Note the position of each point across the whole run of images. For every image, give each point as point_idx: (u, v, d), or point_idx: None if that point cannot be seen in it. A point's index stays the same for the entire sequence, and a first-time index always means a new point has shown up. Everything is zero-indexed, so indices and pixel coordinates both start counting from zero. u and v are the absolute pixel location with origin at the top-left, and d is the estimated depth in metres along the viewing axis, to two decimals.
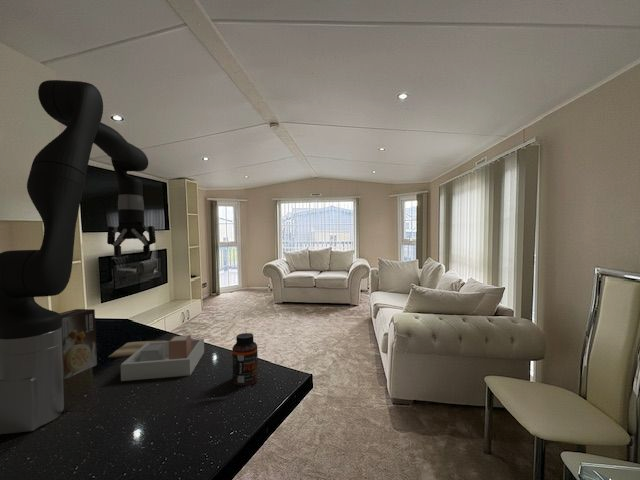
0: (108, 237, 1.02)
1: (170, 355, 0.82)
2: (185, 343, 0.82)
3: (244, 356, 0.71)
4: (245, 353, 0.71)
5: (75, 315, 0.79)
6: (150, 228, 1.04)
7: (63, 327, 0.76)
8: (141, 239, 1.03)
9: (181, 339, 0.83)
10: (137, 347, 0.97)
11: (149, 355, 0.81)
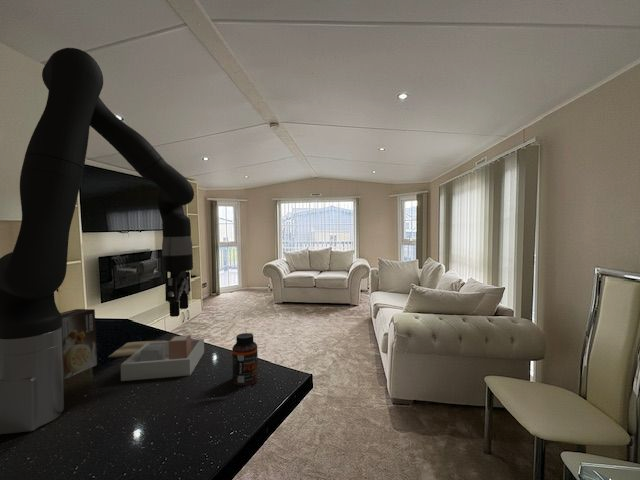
0: (176, 292, 0.78)
1: (170, 355, 0.82)
2: (185, 343, 0.82)
3: (244, 356, 0.71)
4: (245, 353, 0.71)
5: (75, 315, 0.79)
6: (189, 274, 0.91)
7: (63, 327, 0.76)
8: (188, 288, 0.88)
9: (181, 339, 0.83)
10: (137, 347, 0.97)
11: (149, 355, 0.81)
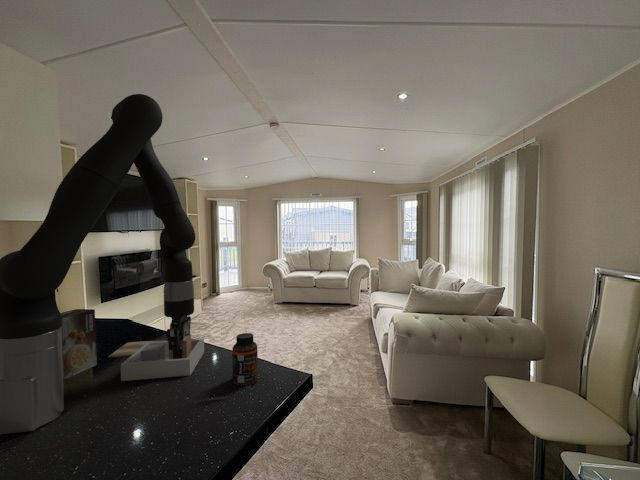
0: (178, 341, 0.79)
1: (170, 355, 0.82)
2: (185, 343, 0.82)
3: (244, 356, 0.71)
4: (245, 353, 0.71)
5: (75, 315, 0.79)
6: (190, 319, 0.90)
7: (63, 327, 0.76)
8: (188, 334, 0.87)
9: None
10: (137, 347, 0.97)
11: (149, 355, 0.81)
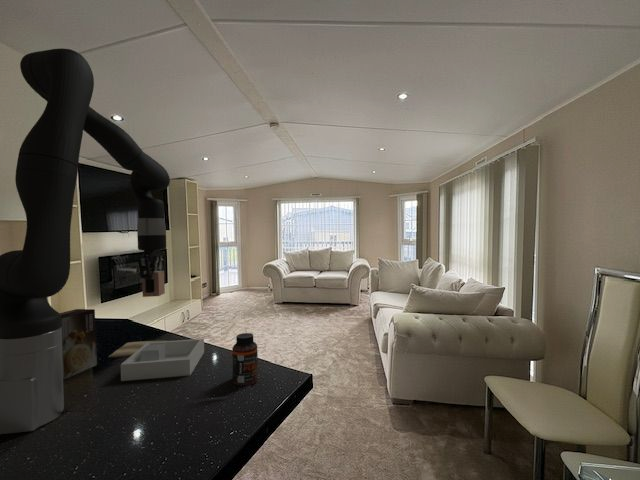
0: (149, 271, 0.87)
1: (143, 285, 0.89)
2: (157, 275, 0.90)
3: (244, 356, 0.71)
4: (245, 353, 0.71)
5: (75, 315, 0.79)
6: (164, 258, 0.98)
7: (63, 327, 0.76)
8: (161, 269, 0.94)
9: (154, 272, 0.91)
10: (137, 347, 0.97)
11: (149, 355, 0.81)
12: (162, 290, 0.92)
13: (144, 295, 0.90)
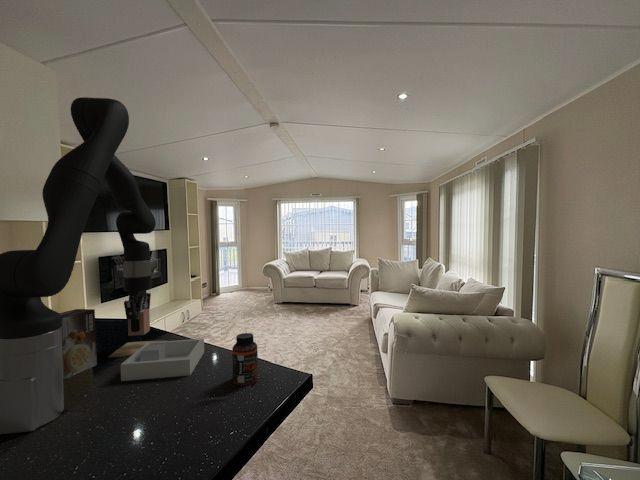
0: (134, 312, 0.91)
1: (129, 325, 0.94)
2: (142, 314, 0.95)
3: (244, 356, 0.71)
4: (245, 353, 0.71)
5: (75, 315, 0.79)
6: (150, 295, 1.03)
7: (63, 327, 0.76)
8: (146, 307, 0.99)
9: None
10: (137, 347, 0.97)
11: (149, 355, 0.81)
12: (147, 328, 0.97)
13: (130, 334, 0.94)
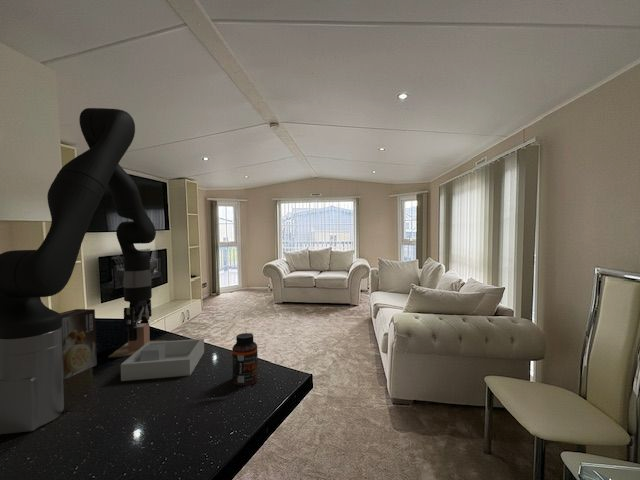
0: (133, 320, 0.90)
1: None
2: (142, 329, 0.94)
3: (244, 356, 0.71)
4: (245, 353, 0.71)
5: (75, 315, 0.79)
6: (150, 301, 1.03)
7: (63, 327, 0.76)
8: (148, 314, 1.00)
9: (139, 326, 0.95)
10: None
11: (149, 355, 0.81)
12: None
13: (130, 349, 0.94)
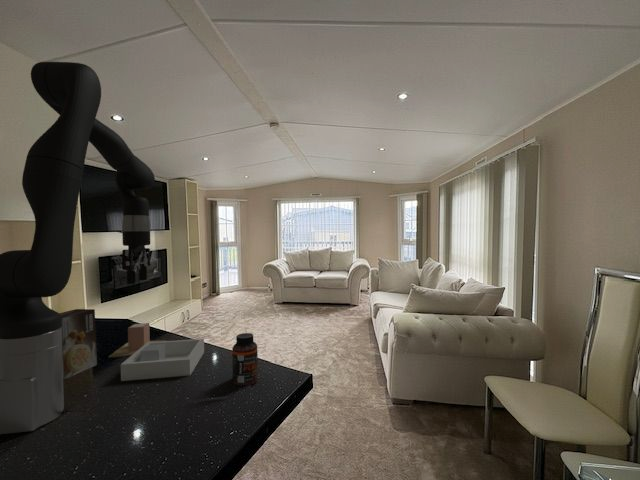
0: (131, 262, 0.90)
1: (129, 340, 0.94)
2: (142, 329, 0.94)
3: (244, 356, 0.71)
4: (245, 353, 0.71)
5: (75, 315, 0.79)
6: (149, 250, 1.03)
7: (63, 327, 0.76)
8: (146, 262, 1.00)
9: (139, 326, 0.95)
10: None
11: (149, 355, 0.81)
12: None
13: (130, 349, 0.94)
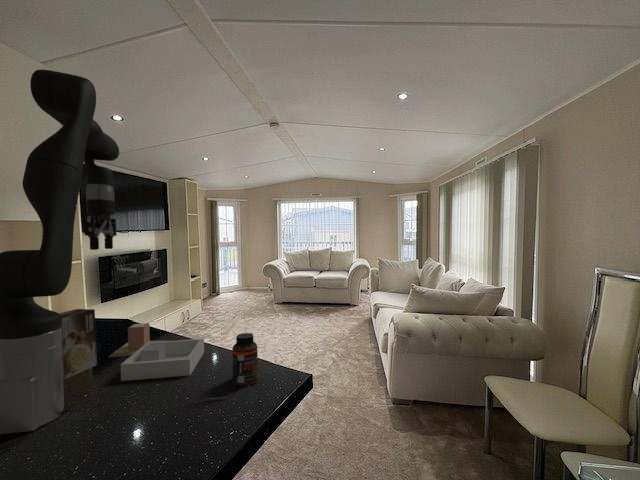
0: (93, 228, 0.94)
1: (129, 340, 0.94)
2: (142, 329, 0.94)
3: (244, 356, 0.71)
4: (245, 353, 0.71)
5: (75, 315, 0.79)
6: (115, 221, 1.07)
7: (63, 327, 0.76)
8: None
9: (139, 326, 0.95)
10: None
11: (149, 355, 0.81)
12: None
13: (130, 349, 0.94)
